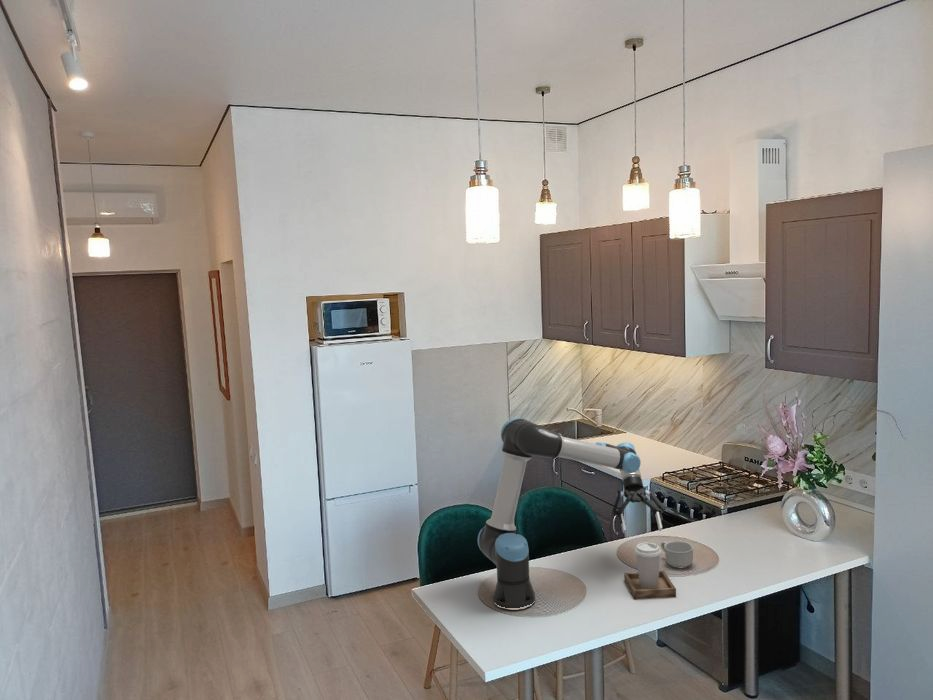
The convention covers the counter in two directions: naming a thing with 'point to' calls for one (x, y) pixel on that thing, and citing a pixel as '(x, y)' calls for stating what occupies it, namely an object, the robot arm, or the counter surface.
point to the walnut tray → (662, 591)
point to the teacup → (678, 553)
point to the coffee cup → (648, 564)
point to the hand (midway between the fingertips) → (642, 530)
